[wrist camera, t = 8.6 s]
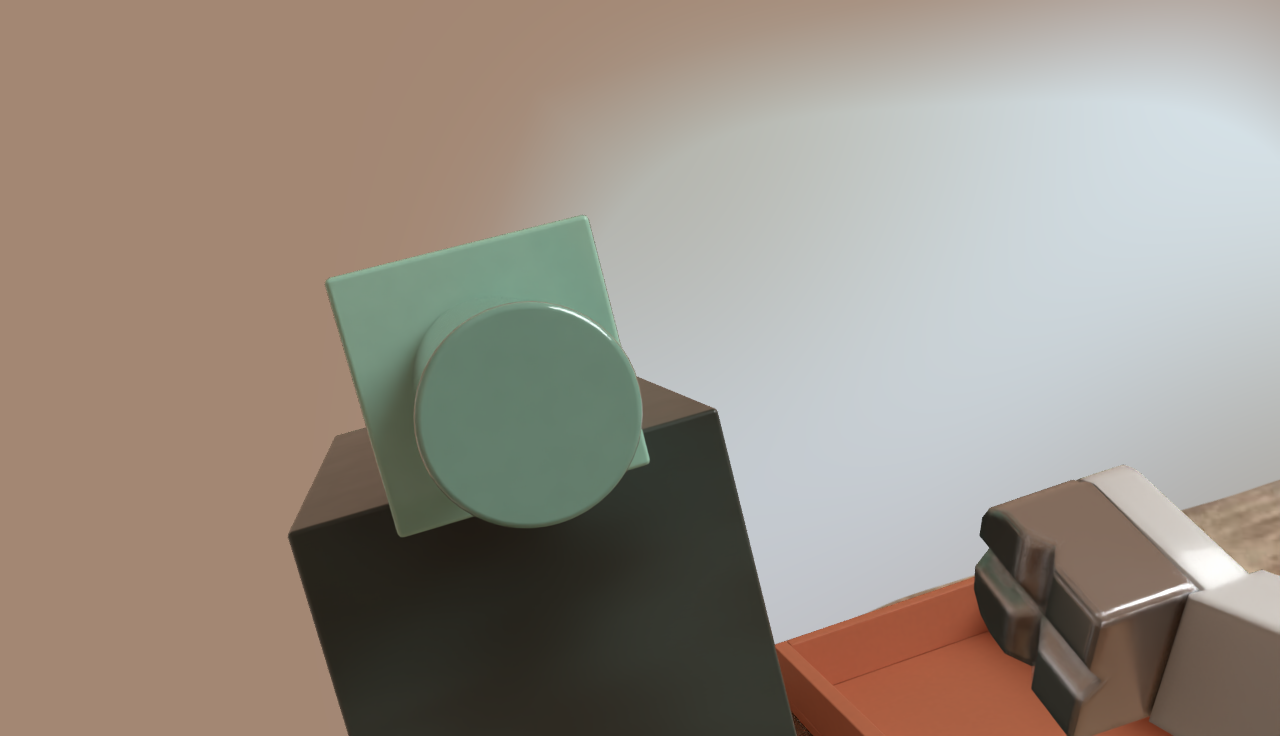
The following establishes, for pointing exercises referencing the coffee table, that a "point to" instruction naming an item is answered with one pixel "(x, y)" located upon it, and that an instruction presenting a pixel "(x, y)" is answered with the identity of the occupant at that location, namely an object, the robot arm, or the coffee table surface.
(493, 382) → the bottle
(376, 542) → the stand
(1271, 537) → the coffee table surface
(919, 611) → the tray
